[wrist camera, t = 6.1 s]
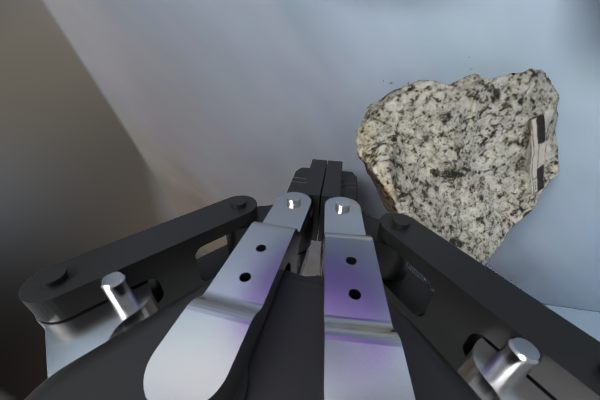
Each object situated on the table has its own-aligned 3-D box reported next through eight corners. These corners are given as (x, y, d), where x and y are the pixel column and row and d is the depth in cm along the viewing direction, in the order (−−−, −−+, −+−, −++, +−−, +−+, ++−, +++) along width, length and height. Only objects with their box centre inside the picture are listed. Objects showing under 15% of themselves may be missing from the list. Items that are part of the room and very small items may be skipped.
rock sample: (732, 214, 8) (616, 395, 6) (501, 233, 16) (402, 316, 13) (559, -36, 9) (381, 18, 6) (415, 93, 16) (303, 144, 14)
